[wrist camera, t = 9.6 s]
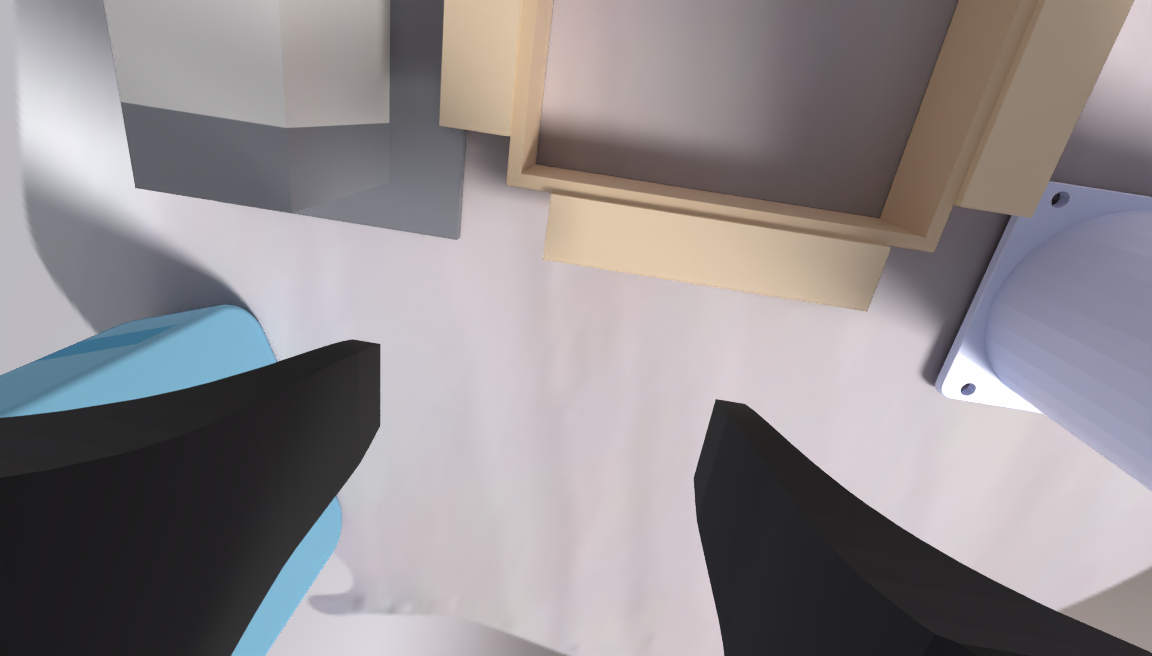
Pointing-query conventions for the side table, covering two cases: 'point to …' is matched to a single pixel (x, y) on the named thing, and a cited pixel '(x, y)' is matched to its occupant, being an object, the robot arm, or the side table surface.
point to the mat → (412, 137)
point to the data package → (164, 364)
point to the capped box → (254, 97)
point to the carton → (784, 231)
